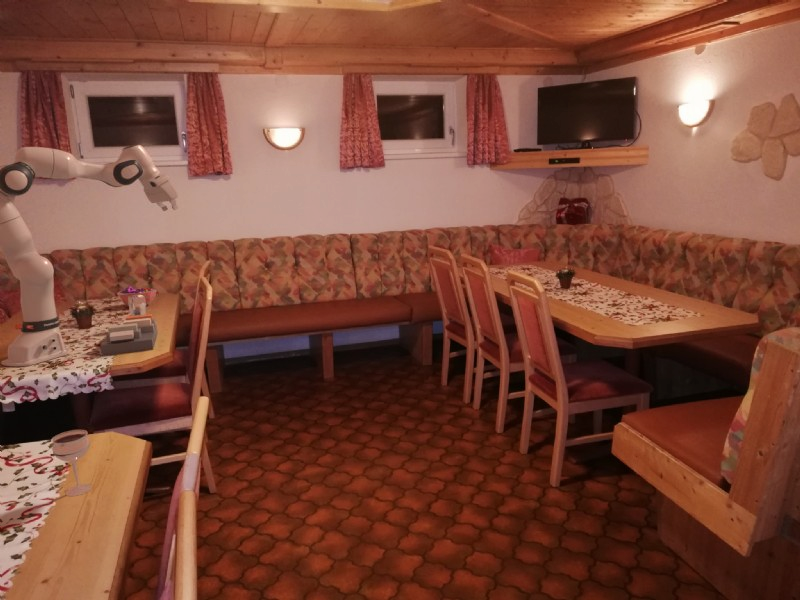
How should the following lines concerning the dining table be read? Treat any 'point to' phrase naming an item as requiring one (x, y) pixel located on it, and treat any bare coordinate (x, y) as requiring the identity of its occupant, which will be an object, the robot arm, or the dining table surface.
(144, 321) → the bar ivory
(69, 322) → the dining table surface
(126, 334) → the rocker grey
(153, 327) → the panel
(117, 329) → the bar sage
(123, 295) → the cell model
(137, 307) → the beer glass
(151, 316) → the bar orange
